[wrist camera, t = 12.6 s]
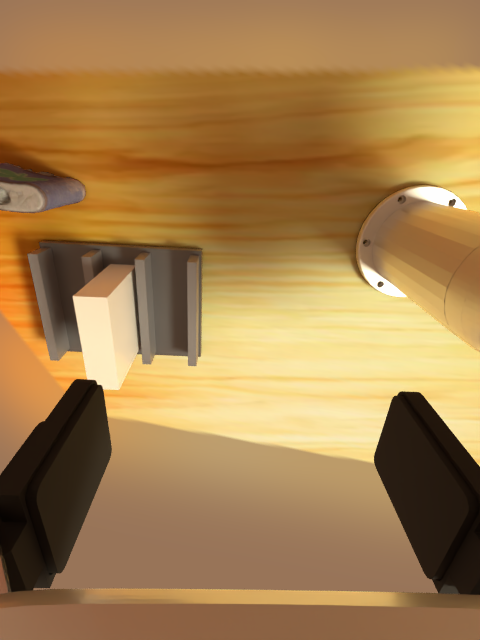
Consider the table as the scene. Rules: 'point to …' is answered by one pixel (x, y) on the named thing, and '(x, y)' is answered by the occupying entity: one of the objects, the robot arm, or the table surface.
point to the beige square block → (109, 324)
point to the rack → (152, 291)
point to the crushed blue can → (36, 190)
